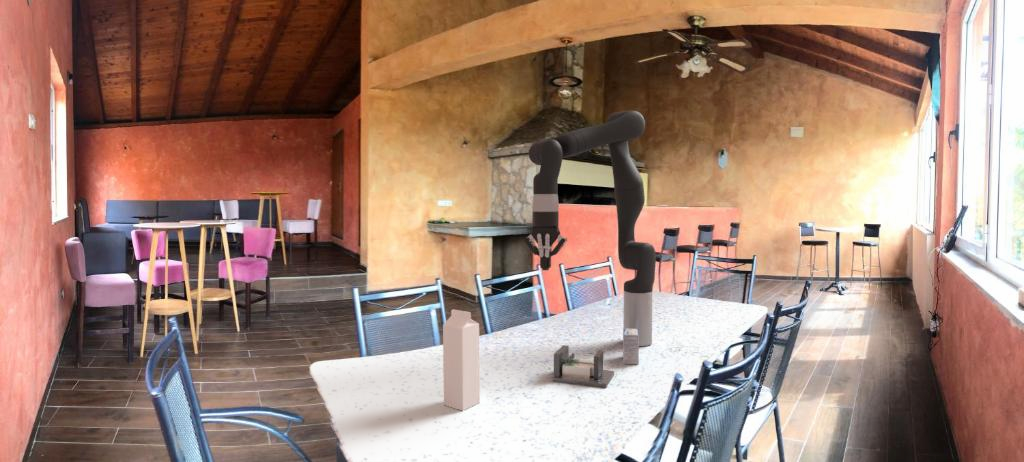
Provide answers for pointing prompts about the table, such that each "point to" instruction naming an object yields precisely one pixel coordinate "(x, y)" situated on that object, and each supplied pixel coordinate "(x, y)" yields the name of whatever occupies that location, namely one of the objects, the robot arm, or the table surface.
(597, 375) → the plunger
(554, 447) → the table surface
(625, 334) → the medicine box
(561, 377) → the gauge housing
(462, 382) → the milk
